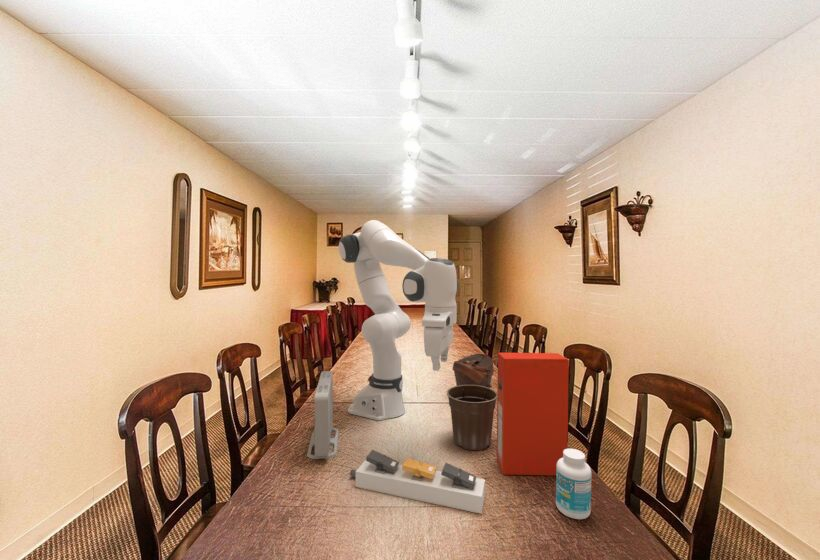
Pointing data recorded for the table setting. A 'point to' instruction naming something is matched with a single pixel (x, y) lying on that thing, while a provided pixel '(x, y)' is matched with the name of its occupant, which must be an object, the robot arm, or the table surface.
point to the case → (474, 370)
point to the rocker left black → (382, 461)
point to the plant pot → (472, 415)
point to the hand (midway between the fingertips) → (440, 365)
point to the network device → (323, 419)
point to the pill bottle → (573, 485)
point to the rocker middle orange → (419, 468)
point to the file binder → (531, 412)
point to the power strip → (421, 487)
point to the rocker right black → (459, 476)
